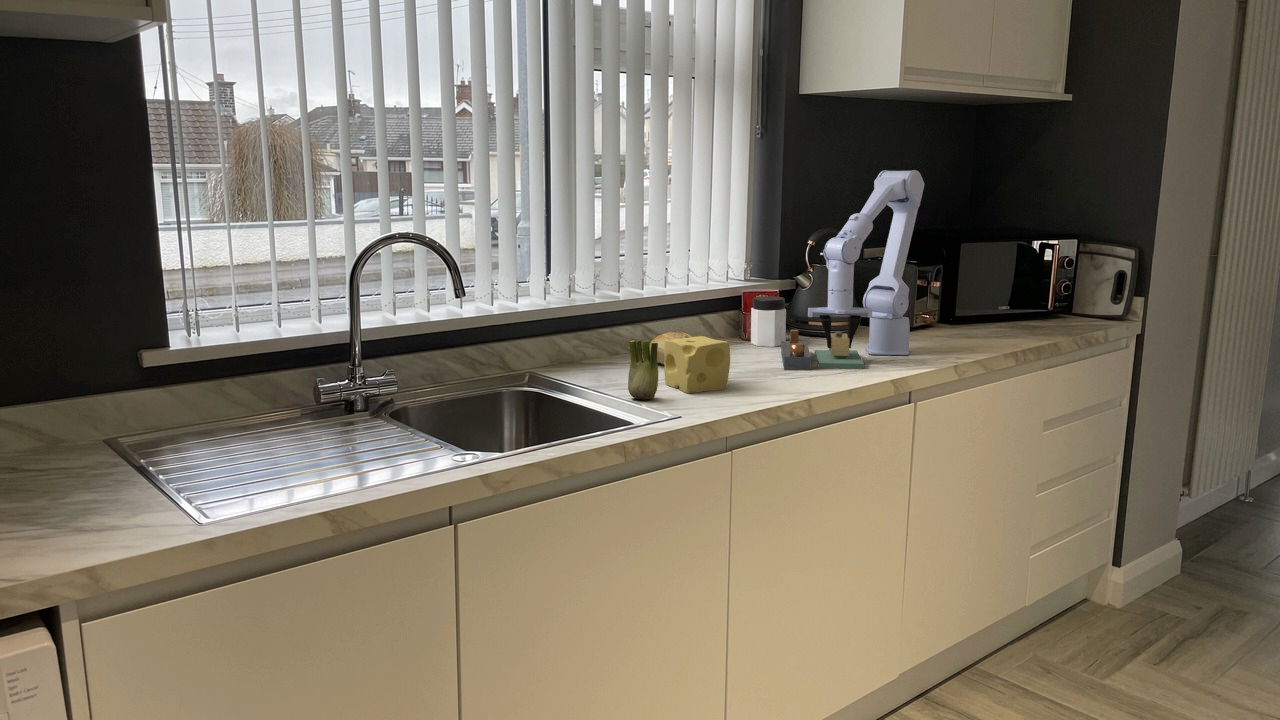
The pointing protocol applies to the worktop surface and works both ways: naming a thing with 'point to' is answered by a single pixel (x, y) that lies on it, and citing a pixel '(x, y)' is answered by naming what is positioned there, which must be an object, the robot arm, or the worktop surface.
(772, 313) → the jar
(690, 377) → the cheese
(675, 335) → the bread roll
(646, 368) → the fennel bulb
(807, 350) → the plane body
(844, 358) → the mat
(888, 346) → the robot arm
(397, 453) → the worktop surface
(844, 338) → the tan block
